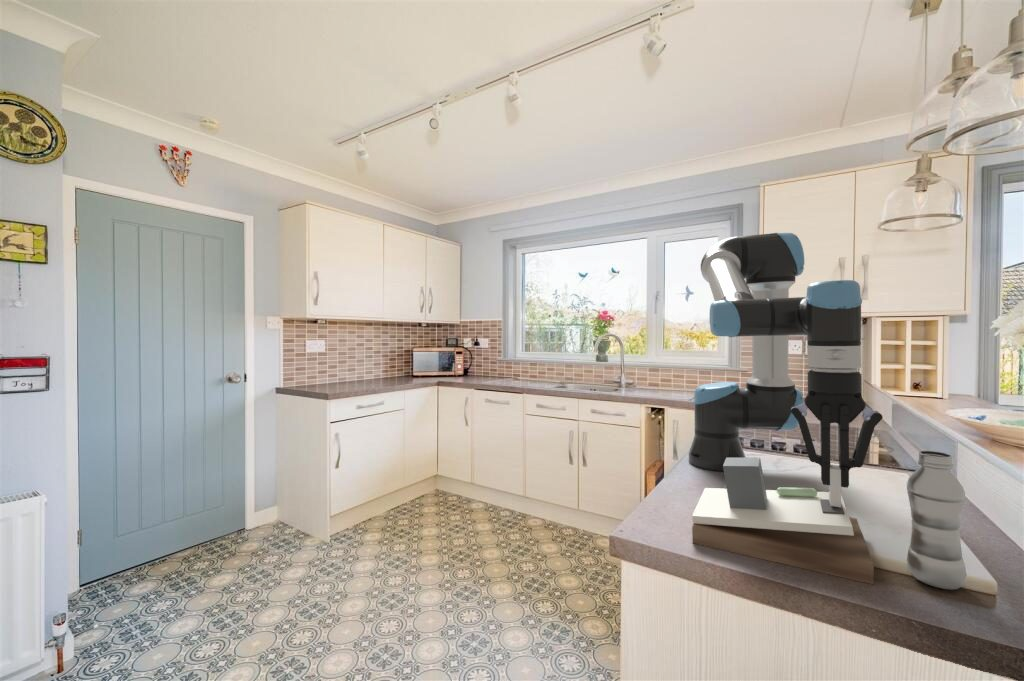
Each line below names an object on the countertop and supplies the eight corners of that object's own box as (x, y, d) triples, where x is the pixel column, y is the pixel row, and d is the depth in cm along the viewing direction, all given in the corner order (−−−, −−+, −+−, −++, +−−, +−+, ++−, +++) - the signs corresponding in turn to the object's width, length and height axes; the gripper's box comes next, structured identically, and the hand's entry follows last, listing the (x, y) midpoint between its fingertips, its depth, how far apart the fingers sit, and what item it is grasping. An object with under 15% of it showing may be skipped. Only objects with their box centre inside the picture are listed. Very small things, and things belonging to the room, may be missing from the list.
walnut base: (706, 507, 95) (706, 493, 95) (856, 534, 81) (856, 518, 81) (692, 543, 79) (692, 526, 79) (873, 584, 66) (873, 563, 65)
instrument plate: (706, 494, 94) (698, 451, 94) (842, 499, 81) (832, 450, 81) (693, 523, 80) (685, 473, 81) (854, 535, 67) (843, 475, 68)
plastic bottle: (977, 590, 63) (977, 457, 63) (948, 600, 61) (948, 462, 61) (924, 567, 70) (923, 446, 69) (896, 576, 68) (895, 450, 67)
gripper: (789, 370, 75) (791, 504, 75) (887, 373, 68) (888, 520, 68) (788, 367, 81) (790, 490, 82) (878, 368, 74) (879, 503, 75)
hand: (835, 503), depth 75 cm, fingers closed
